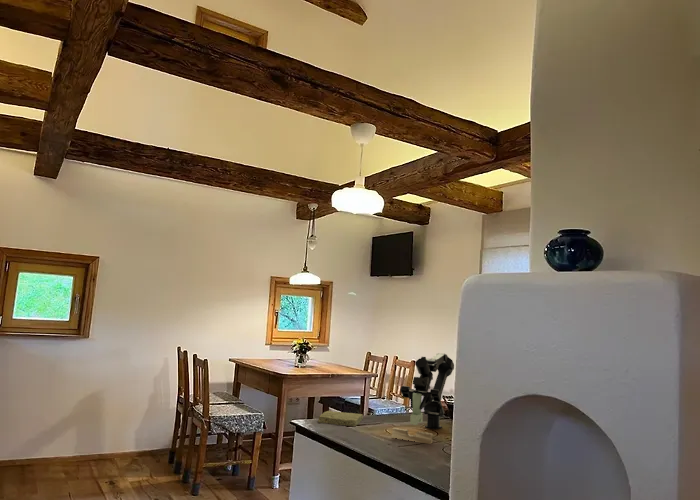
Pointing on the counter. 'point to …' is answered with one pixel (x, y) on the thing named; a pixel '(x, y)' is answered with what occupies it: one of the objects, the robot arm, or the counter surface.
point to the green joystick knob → (416, 409)
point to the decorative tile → (340, 418)
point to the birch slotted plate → (412, 436)
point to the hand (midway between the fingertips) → (415, 408)
